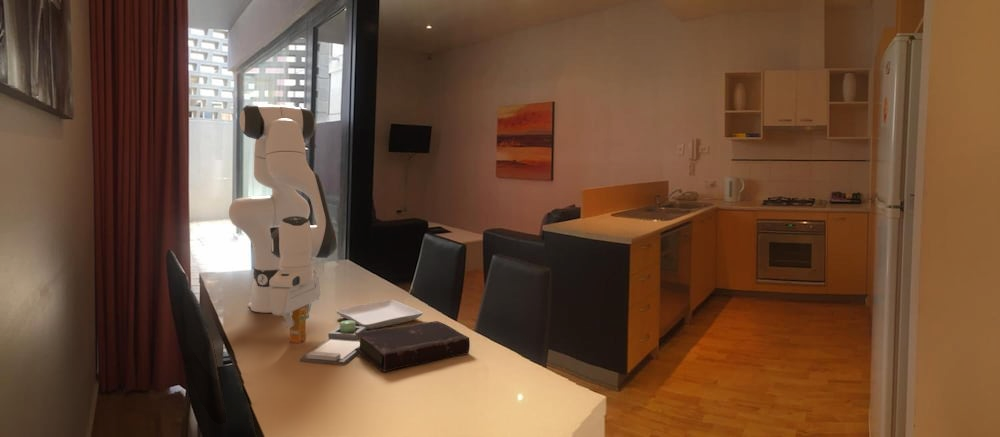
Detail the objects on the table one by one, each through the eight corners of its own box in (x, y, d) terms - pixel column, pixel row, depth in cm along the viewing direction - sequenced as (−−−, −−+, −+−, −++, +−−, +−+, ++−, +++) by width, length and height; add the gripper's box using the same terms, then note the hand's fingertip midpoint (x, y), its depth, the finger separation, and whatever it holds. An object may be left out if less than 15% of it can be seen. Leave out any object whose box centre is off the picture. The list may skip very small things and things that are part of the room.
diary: (470, 355, 146) (470, 337, 146) (384, 374, 131) (384, 354, 131) (434, 334, 161) (435, 318, 160) (353, 349, 146) (353, 331, 145)
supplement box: (300, 343, 153) (299, 308, 152) (289, 342, 154) (288, 307, 153) (306, 339, 157) (306, 305, 156) (296, 338, 157) (295, 304, 156)
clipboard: (330, 341, 155) (329, 334, 155) (369, 344, 153) (369, 337, 153) (299, 361, 139) (299, 353, 139) (343, 365, 137) (343, 357, 137)
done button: (344, 329, 162) (344, 319, 162) (358, 330, 161) (358, 320, 161) (337, 334, 158) (337, 324, 157) (351, 335, 157) (351, 325, 157)
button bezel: (341, 331, 164) (341, 325, 164) (366, 333, 163) (366, 326, 163) (328, 339, 156) (328, 333, 156) (354, 341, 155) (354, 335, 155)
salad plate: (364, 335, 162) (364, 323, 162) (334, 319, 178) (334, 308, 178) (424, 322, 176) (424, 311, 176) (391, 308, 192) (391, 298, 192)
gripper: (305, 267, 164) (306, 312, 165) (265, 281, 144) (266, 332, 145) (325, 268, 163) (326, 313, 164) (287, 282, 143) (288, 334, 144)
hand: (297, 322), depth 155 cm, fingers open, 6 cm apart
